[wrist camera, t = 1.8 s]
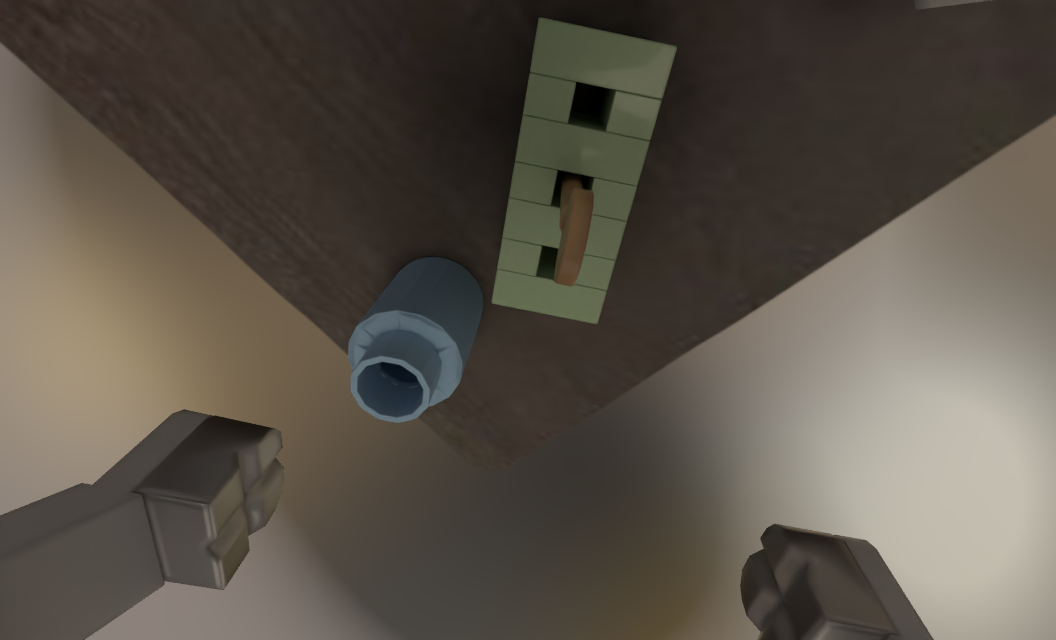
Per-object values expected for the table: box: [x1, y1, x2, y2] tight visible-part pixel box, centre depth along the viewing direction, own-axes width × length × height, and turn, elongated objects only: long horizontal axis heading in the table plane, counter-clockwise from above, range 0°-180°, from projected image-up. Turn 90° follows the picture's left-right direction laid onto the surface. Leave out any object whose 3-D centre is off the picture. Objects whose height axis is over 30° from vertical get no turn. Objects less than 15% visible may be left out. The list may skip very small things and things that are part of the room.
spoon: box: [554, 171, 594, 286], centre depth 26 cm, size 4×1×17 cm, turn 170°
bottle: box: [349, 257, 483, 423], centre depth 34 cm, size 7×7×12 cm
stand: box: [492, 17, 677, 324], centre depth 31 cm, size 16×7×7 cm, turn 170°
